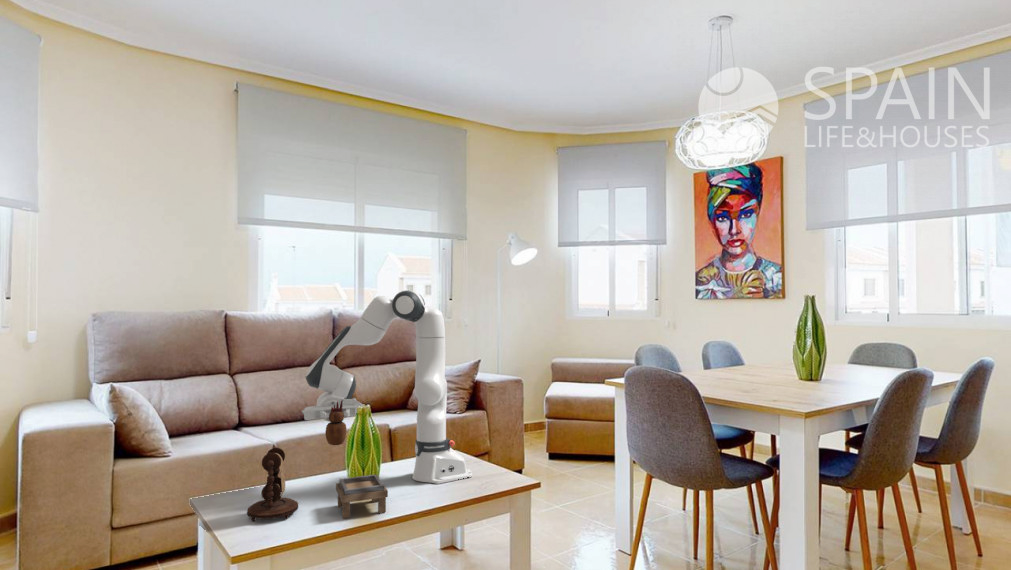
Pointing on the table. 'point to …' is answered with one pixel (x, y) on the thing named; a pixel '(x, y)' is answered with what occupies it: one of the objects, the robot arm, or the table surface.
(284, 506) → the dark brown tall figurine
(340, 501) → the stool
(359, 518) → the table surface
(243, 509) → the table surface
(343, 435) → the wooden figurine
